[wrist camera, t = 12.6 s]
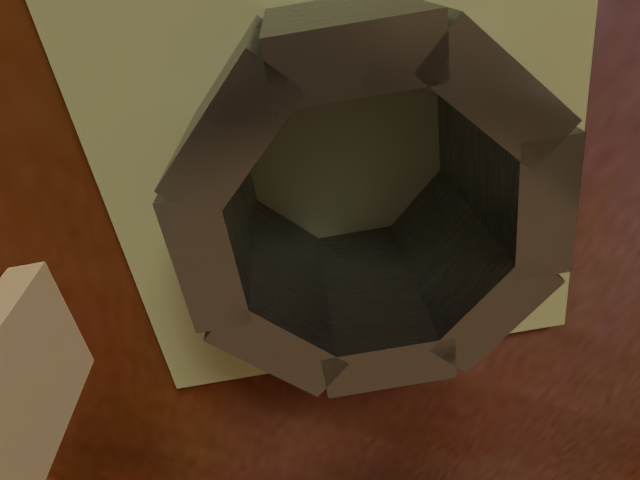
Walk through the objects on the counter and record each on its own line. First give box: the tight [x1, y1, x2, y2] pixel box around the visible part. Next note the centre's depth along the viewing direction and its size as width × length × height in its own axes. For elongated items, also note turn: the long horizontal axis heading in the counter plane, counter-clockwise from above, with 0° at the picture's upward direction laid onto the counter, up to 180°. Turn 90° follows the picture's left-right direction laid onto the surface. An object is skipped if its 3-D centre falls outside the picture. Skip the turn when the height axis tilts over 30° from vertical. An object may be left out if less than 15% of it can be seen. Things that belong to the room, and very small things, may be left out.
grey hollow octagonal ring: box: [152, 0, 586, 399], centre depth 16 cm, size 10×10×7 cm
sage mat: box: [25, 0, 598, 389], centre depth 19 cm, size 18×20×1 cm
